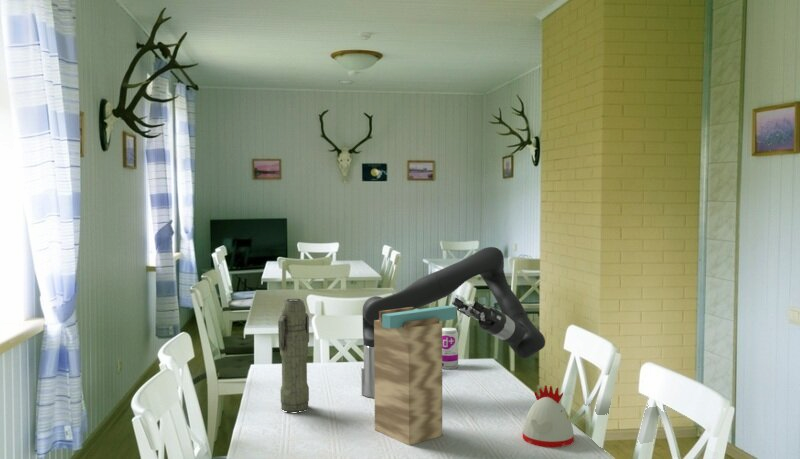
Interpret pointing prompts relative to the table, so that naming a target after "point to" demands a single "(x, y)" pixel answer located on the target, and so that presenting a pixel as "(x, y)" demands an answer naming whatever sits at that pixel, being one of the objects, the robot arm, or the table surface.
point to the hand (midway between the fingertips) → (463, 302)
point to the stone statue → (294, 355)
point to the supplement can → (449, 348)
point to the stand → (408, 379)
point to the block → (418, 316)
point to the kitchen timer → (548, 421)
